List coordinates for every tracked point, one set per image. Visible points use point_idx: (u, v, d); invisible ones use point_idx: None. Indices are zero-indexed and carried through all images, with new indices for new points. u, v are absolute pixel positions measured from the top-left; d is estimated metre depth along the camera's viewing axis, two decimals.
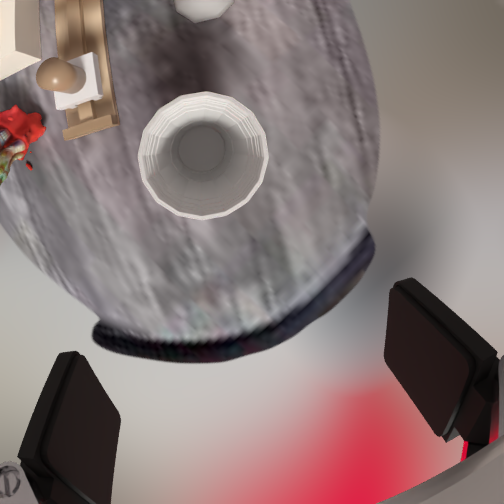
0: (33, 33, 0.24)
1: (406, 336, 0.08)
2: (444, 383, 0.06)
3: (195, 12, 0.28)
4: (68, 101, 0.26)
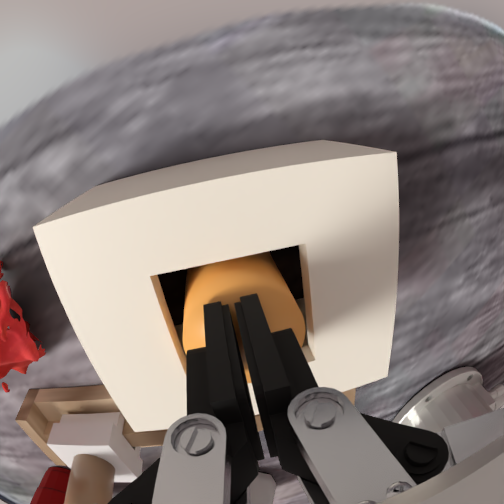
0: None
1: None
2: None
3: None
4: (62, 457, 0.15)
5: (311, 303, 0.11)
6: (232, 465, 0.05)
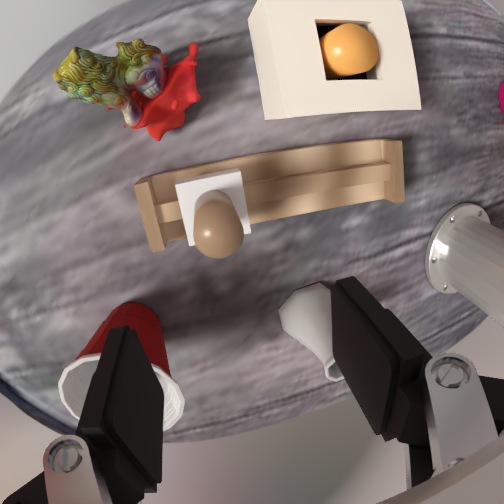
0: None
1: (345, 333, 0.09)
2: (375, 381, 0.07)
3: (289, 318, 0.33)
4: (184, 203, 0.24)
5: (378, 47, 0.20)
6: None
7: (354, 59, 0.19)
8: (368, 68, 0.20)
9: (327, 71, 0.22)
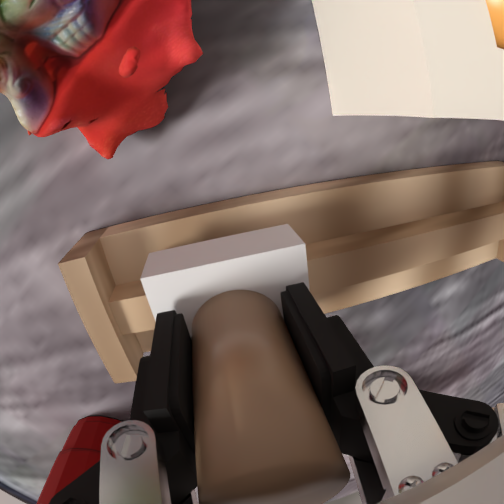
0: None
1: (292, 339, 0.09)
2: (314, 389, 0.07)
3: None
4: None
5: None
6: (168, 466, 0.05)
7: None
8: None
9: None
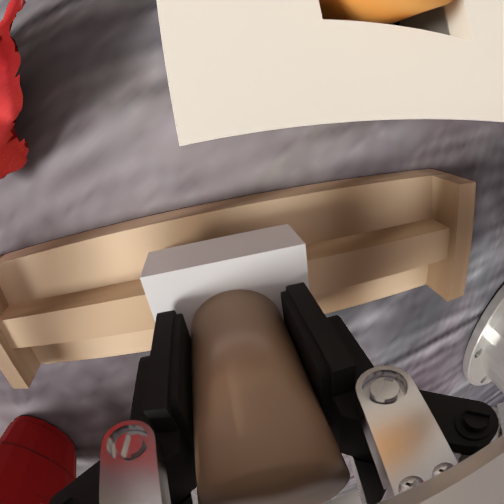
0: None
1: (292, 339, 0.09)
2: (314, 389, 0.07)
3: None
4: None
5: None
6: (168, 466, 0.05)
7: None
8: (443, 0, 0.05)
9: (326, 10, 0.07)
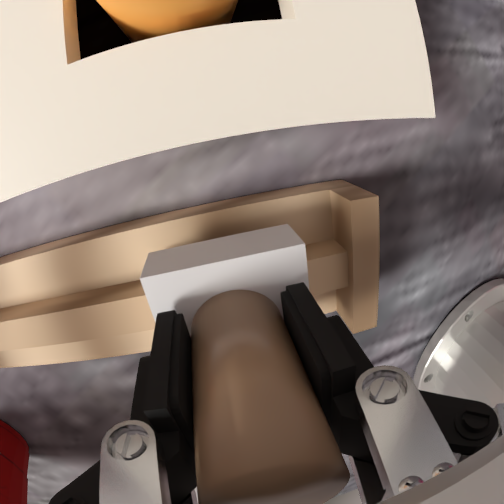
0: None
1: (292, 339, 0.09)
2: (314, 389, 0.07)
3: None
4: None
5: None
6: (168, 466, 0.05)
7: None
8: None
9: (130, 33, 0.07)
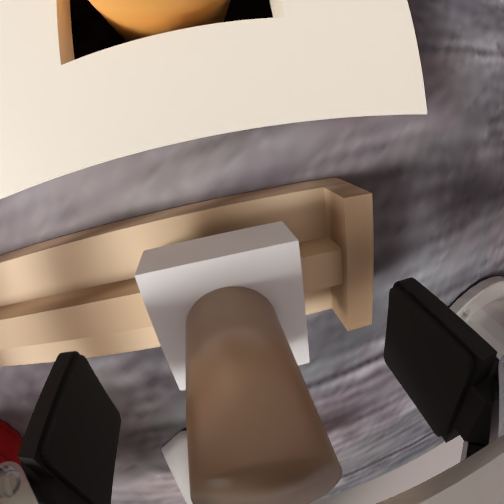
0: None
1: (406, 336, 0.08)
2: (444, 383, 0.06)
3: (171, 469, 0.18)
4: (160, 316, 0.10)
5: None
6: None
7: None
8: None
9: (124, 33, 0.07)
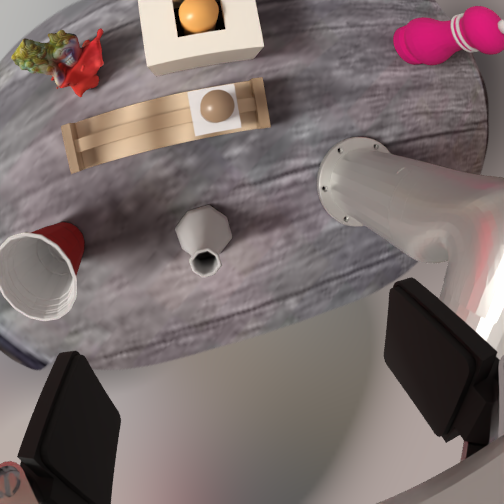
0: (183, 67, 0.32)
1: (406, 336, 0.08)
2: (444, 383, 0.06)
3: (180, 233, 0.39)
4: (193, 104, 0.31)
5: (222, 7, 0.26)
6: None
7: (197, 18, 0.25)
8: (209, 22, 0.26)
9: (188, 32, 0.28)
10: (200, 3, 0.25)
